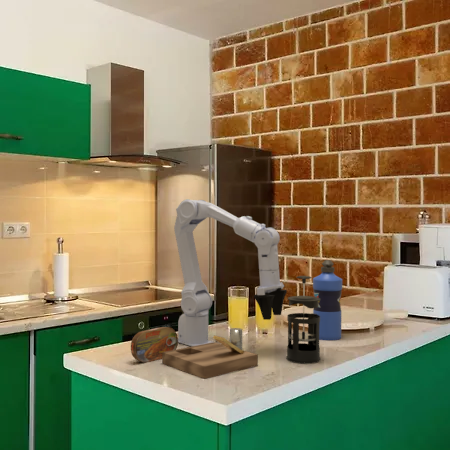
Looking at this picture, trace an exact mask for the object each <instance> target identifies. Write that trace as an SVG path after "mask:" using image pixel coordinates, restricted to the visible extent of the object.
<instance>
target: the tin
mask: <svg viewBox="0 0 450 450" xmlns="http://www.w3.org/2000/svg"><path fill="white" fill-rule="evenodd" d="M130 342H131V343H130V352H131V356H132V358H134V359H135V360H136V361H138V362H142V363H145V364H146V363H151V362H154V361H159V360H162V352H166V351H171V350H176V349H178V345H179V342H178V333H177V332H176V331H175V329H173V328H172V327H169V326H167V327H165V326H162V327H155V328H151V329H146V330H142V331H138V332H137V333H136V334H135V335H134V336H133V337H132V340H131V341H130Z"/></svg>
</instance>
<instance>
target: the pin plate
mask: <svg viewBox="0 0 450 450" xmlns="http://www.w3.org/2000/svg"><path fill="white" fill-rule="evenodd" d="M243 351H244V353H243V354H240V353H237V352H233V351H231V350H229V349H228V348H227V347H225V346H224V345H222V344H221V343H219V342H215V341H213V343H207V344H202V345H197V346H187V347H183V348H176V350H171V351H166V352H162V359H161V360H162V361H161V362H162V364H163V365H166V366H168V367H171V368H174V369H177V370H180V371H182V372H185V373H187V374H191V375H193V376H195V377H198V378H201V379H208V378H213V377H218V376H223V375H226V374H229V373H233V372H239V371H242V370H246V369H251V368H254V367H258V365H259V364H258V363H259V361H258V360H259V358H258V357H259V354H257V353H253V352H251V351H246V350H243Z"/></svg>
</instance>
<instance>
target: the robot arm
mask: <svg viewBox="0 0 450 450" xmlns="http://www.w3.org/2000/svg"><path fill="white" fill-rule="evenodd" d="M175 212H176V219H175V222H174V234H175V235H174V236H175V240H176V246H177V251H178V255H179V261H180V266H181V267H180V268H181V272H182V278H183V283H184V286H183V287H182V290H181V300H180V301H181V302H180V307H181V311H182V312H183V313H182V314H181V315H179V318H178V325H177V326H178V329H177V331H178V333H177V337H178V344H179V343H180V344H182V345H186V346H188V347H192V346H197V345H202V344H207V343H213V342H214V340H210V339H209V310H210V309H211V307H212V305H213V298H212V296H211V293H210V292H209V290H208V287H207V285H206V284H205V282H203V278H202V274H201V269H200V263H199V258H198V254H197V248H196V244H195V242H196V241H195V238H194V231H195V229H196V227H197V226H198V225H199V224H201V223H202V222H203V221H205V220H206V219H208V218H212V219H213V220H215V221H217V222H220V223H221V224H225V225H227V226H229V227H230V228H233V231H234V233H235V234H236V235H238V236H240V237H242V238H244V239H246V240H248V241H250V242H252V243H253V244H254V245H255V247H256V248H257V257H258V258H257V259H258V269H259V270H258V271H259V272H258V273H259V286H258V287H257V288H256V294H254V295H253V298H254V301H256V302H257V303H256V304H257V305H258V307H259V310H260V313H261V317H262V319H263V320H266V321H267V320H268V321H270V320H272V315H274V316H282V313H283V304H284V300H285V297H286V294H287V293H288V292H287V289H284V288H285V284H284V283H283V282H282V281H281V279H280V266H279V265H280V262H279V250H278V244H279V242H280V239H281V238H280V237H281V235H280V234H279V232H278V231H277V230H276V229H275V228H274V227H266V224H265V223H259V222H257V221H255V220H253V217H252V216H249V215H246V216H245V215H244V216H243V215H242V216H241V217H237V216H236V215H234V214H232V213H230V212H228V211H227V210H225V209H224V208H221V207H220V206H217V205H216V204H214V203H212V202H209V201H206V200H204V199H184V200H182V201H181V202H180V204H178V206H177V208H176V209H175Z"/></svg>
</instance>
